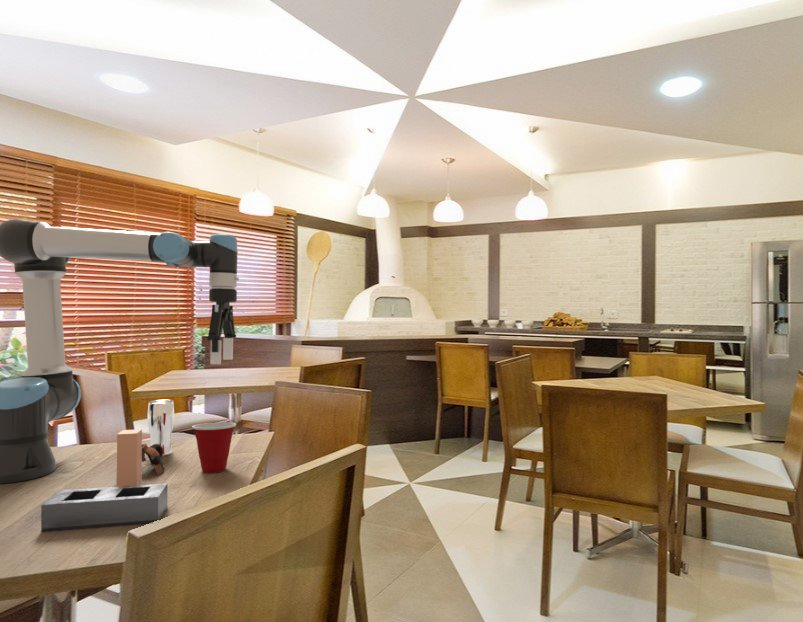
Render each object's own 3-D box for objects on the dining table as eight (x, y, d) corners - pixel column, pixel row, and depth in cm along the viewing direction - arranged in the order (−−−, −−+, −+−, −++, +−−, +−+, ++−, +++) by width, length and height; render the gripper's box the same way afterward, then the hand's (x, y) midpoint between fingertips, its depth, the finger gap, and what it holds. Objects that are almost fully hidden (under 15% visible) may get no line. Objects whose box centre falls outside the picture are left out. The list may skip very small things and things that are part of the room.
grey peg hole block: (41, 532, 94) (41, 504, 94) (59, 515, 102) (60, 490, 102) (158, 522, 99) (158, 496, 99) (167, 507, 107) (167, 483, 107)
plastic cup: (236, 462, 139) (237, 418, 139) (235, 474, 129) (235, 426, 129) (194, 465, 136) (194, 420, 136) (188, 477, 126) (189, 429, 126)
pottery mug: (155, 481, 125) (136, 453, 123) (125, 495, 127) (106, 468, 125) (179, 455, 137) (162, 430, 135) (151, 468, 138) (134, 444, 137)
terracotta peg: (116, 498, 112) (117, 434, 112) (122, 491, 116) (122, 430, 116) (136, 496, 113) (136, 433, 113) (141, 490, 117) (141, 429, 117)
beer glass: (141, 455, 145) (141, 402, 145) (159, 449, 152) (160, 398, 152) (161, 457, 143) (162, 404, 143) (179, 451, 149) (179, 400, 150)
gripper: (225, 286, 136) (224, 366, 136) (245, 290, 161) (244, 358, 161) (196, 285, 135) (195, 366, 135) (221, 290, 160) (220, 357, 160)
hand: (222, 361), depth 148 cm, fingers open, 13 cm apart
